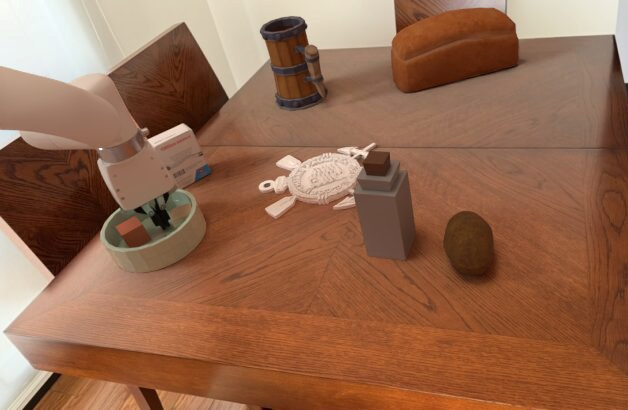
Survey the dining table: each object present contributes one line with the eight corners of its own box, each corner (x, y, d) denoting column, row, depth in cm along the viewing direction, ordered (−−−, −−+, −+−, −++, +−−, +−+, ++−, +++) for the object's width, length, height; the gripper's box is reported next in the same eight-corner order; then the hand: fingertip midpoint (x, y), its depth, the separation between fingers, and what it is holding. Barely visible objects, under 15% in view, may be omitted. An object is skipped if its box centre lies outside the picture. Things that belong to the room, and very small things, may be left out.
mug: (350, 97, 131) (334, 21, 119) (306, 121, 125) (284, 43, 112) (308, 80, 144) (289, 10, 131) (265, 101, 137) (242, 29, 125)
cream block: (179, 236, 96) (170, 220, 93) (178, 224, 99) (170, 208, 96) (200, 229, 96) (192, 213, 94) (199, 217, 99) (191, 202, 97)
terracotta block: (131, 251, 94) (121, 235, 92) (124, 241, 97) (114, 226, 94) (151, 239, 96) (142, 224, 94) (144, 230, 99) (135, 215, 96)
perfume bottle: (367, 255, 85) (347, 169, 74) (379, 229, 90) (362, 143, 78) (405, 260, 83) (391, 172, 71) (416, 233, 87) (404, 146, 76)
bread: (389, 75, 138) (381, 19, 128) (500, 48, 141) (501, -9, 132) (402, 96, 127) (394, 36, 118) (523, 66, 131) (525, 5, 121)
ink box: (203, 165, 116) (183, 121, 108) (212, 173, 112) (192, 128, 105) (168, 183, 112) (145, 138, 105) (176, 192, 109) (153, 146, 101)
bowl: (133, 288, 87) (118, 266, 84) (102, 243, 99) (88, 222, 95) (222, 234, 95) (212, 212, 92) (184, 198, 106) (174, 177, 103)
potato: (454, 290, 76) (451, 254, 71) (436, 237, 86) (432, 202, 81) (506, 279, 76) (506, 243, 71) (482, 227, 86) (481, 192, 81)
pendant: (394, 203, 95) (393, 197, 94) (250, 222, 97) (248, 216, 96) (390, 143, 111) (389, 137, 110) (267, 160, 113) (265, 155, 112)
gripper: (153, 121, 92) (191, 198, 104) (71, 158, 86) (121, 237, 97) (169, 133, 87) (207, 213, 99) (82, 174, 81) (134, 255, 92)
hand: (164, 225), depth 98 cm, fingers closed
